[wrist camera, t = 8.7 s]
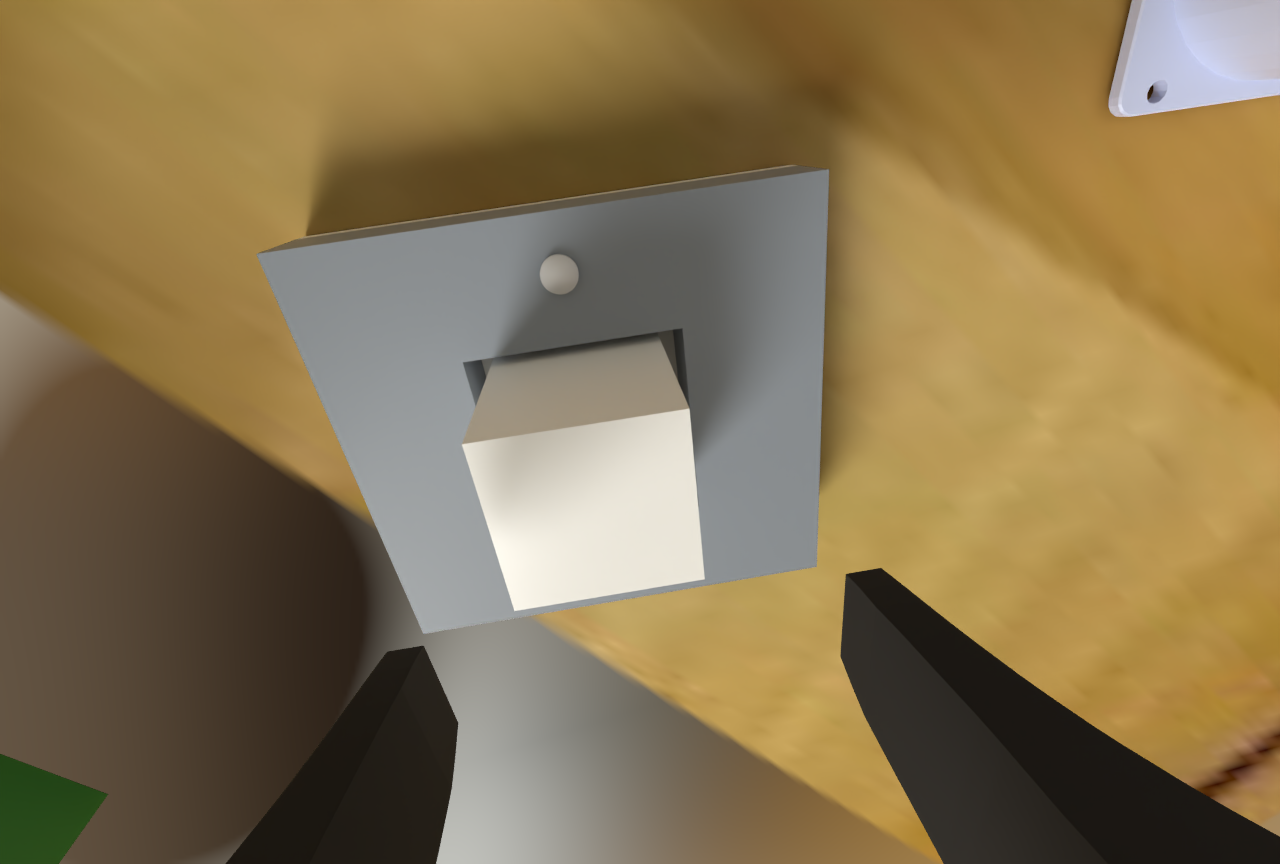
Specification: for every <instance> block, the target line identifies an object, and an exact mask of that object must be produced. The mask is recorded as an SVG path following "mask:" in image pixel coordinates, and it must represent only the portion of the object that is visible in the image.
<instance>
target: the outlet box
mask: <svg viewBox="0 0 1280 864" xmlns="http://www.w3.org/2000/svg"><path fill="white" fill-rule="evenodd" d="M828 191H829V169H823V168H815V167H807V166H799V165H786V166H779V167H773V168H766V169H759V170H752V171H745V172H739V173H732V174H725V175H718V176H711V177H705V178H698V179H691V180H684V181H677V182H671V183H664V184H657V185H650V186H644V187H637V188H630V189H623V190H616V191H610V192H603V193H596V194H589V195H582V196H576V197H569V198H562V199H555V200H548V201H542V202H535V203H528V204H521V205H515V206H508V207H501V208H494V209H487V210H481V211H474V212H467V213H460V214H453V215H447V216H440V217H433V218H426V219H420V220H413V221H406V222H399V223H392V224H386V225H379V226H372V227H365V228H358V229H352V230H345V231H338V232H331V233H324V234H318V235H311V236H304V237H302V238H299V239H296V240H293V241H291V242H288V243H285V244H282V245H280V246H277V247H274V248H271V249H269V250H266V251H263V252H260V253H258V254H257V257H258V259H259V261H260V263H261V266H262V268H263V270H264V272H265V275H266V277H267V279H268V282H269V284H270V286H271V288H272V291H273V293H274V295H275V297H276V300H277V302H278V304H279V307H280V309H281V311H282V313H283V316H284V318H285V320H286V322H287V325H288V327H289V329H290V332H291V334H292V336H293V338H294V341H295V343H296V345H297V347H298V350H299V352H300V354H301V357H302V359H303V361H304V363H305V366H306V368H307V370H308V372H309V375H310V377H311V379H312V382H313V384H314V386H315V388H316V391H317V393H318V395H319V397H320V400H321V402H322V404H323V407H324V409H325V411H326V413H327V416H328V418H329V420H330V422H331V425H332V427H333V429H334V432H335V434H336V436H337V438H338V441H339V443H340V445H341V447H342V450H343V452H344V454H345V457H346V459H347V461H348V463H349V466H350V468H351V470H352V472H353V475H354V477H355V479H356V481H357V484H358V486H359V488H360V491H361V493H362V495H363V497H364V500H365V502H366V504H367V506H368V509H369V511H370V513H371V516H372V518H373V520H374V522H375V525H376V527H377V529H378V531H379V534H380V536H381V538H382V540H383V543H384V545H385V547H386V549H387V552H388V554H389V556H390V558H391V561H392V563H393V565H394V568H395V570H396V572H397V575H398V577H399V579H400V581H401V584H402V586H403V588H404V590H405V592H406V595H407V597H408V600H409V602H410V604H411V606H412V609H413V611H414V613H415V615H416V617H417V620H418V622H419V625H420V627H421V629H422V631H423V634H426V633H431V632H437V631H443V630H449V629H455V628H460V627H467V626H472V625H478V624H484V623H490V622H496V621H502V620H508V619H513V618H519V617H525V616H531V615H537V614H543V613H549V612H554V611H560V610H566V609H572V608H578V607H584V606H590V605H595V604H601V603H607V602H613V601H619V600H625V599H631V598H636V597H642V596H648V595H654V594H660V593H666V592H672V591H677V590H683V589H689V588H695V587H701V586H707V585H712V584H718V583H724V582H730V581H736V580H742V579H748V578H753V577H759V576H765V575H771V574H777V573H783V572H789V571H794V570H800V569H806V568H812V567H817V539H818V508H819V476H820V444H821V413H822V381H823V350H824V318H825V286H826V255H827V223H828ZM655 332H657V333H658V336H659V338H660V340H661V343H662V345H663V347H664V350H665V352H666V354H667V357H668V359H669V361H670V364H671V366H672V369H673V371H674V373H675V376H676V378H677V380H678V383H679V385H680V387H681V390H682V392H683V394H684V397H685V399H686V402H687V404H688V406H689V409H690V420H691V431H692V442H693V453H694V464H695V476H696V487H697V498H698V509H699V520H700V532H701V543H702V554H703V565H704V576H705V579H704V580H698V581H692V582H686V583H680V584H674V585H668V586H662V587H656V588H650V589H644V590H638V591H632V592H626V593H620V594H614V595H608V596H602V597H596V598H590V599H584V600H578V601H572V602H566V603H560V604H554V605H548V606H542V607H536V608H530V609H524V610H518V611H514V608H513V605H512V602H511V598H510V595H509V592H508V589H507V586H506V583H505V579H504V576H503V573H502V570H501V567H500V564H499V560H498V557H497V554H496V551H495V548H494V545H493V541H492V538H491V535H490V532H489V529H488V526H487V522H486V519H485V516H484V513H483V510H482V507H481V503H480V500H479V497H478V494H477V491H476V488H475V484H474V481H473V478H472V475H471V472H470V469H469V465H468V462H467V459H466V456H465V453H464V450H463V446H462V443H463V440H464V437H465V434H466V432H467V429H468V426H469V424H470V421H471V418H472V415H473V413H474V410H475V407H476V405H477V402H478V399H479V396H480V394H481V391H482V388H483V386H484V383H485V380H486V377H487V375H488V372H489V369H490V367H491V364H492V361H493V358H495V357H501V356H508V355H514V354H520V353H527V352H533V351H540V350H546V349H552V348H559V347H565V346H572V345H578V344H585V343H591V342H597V341H604V340H610V339H617V338H623V337H630V336H636V335H642V334H649V333H655Z"/></svg>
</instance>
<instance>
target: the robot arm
mask: <svg viewBox="0 0 1280 864" xmlns="http://www.w3.org/2000/svg"><path fill="white" fill-rule="evenodd" d="M1152 85H1153V93H1152V95H1151V97H1150V98H1149V99H1148V100H1147V93H1148V91H1149V89H1150V87H1151V86H1152ZM1274 95H1280V0H1132V2H1131V7H1130V11H1129V15H1128V20H1127V24H1126V28H1125V32H1124V37H1123V41H1122V45H1121V49H1120V54H1119V58H1118V62H1117V66H1116V71H1115V75H1114V79H1113V83H1112V88H1111V92H1110V96H1109V109H1110V112H1111V113H1112V114H1113V115H1114V116H1117V117H1132V116H1139V115H1145V114H1152V113H1159V112H1166V111H1173V110H1179V109H1186V108H1193V107H1200V106H1206V105H1213V104H1220V103H1227V102H1234V101H1240V100H1247V99H1254V98H1261V97H1267V96H1274ZM841 659H842V661H843V664H844V666H845V669H846V672H847V674H848V677H849V679H850V682H851V684H852V687H853V689H854V692H855V694H856V697H857V699H858V701H859V704H860V706H861V708H862V711H863V713H864V716H865V718H866V720H867V721H868V723H869V725H870V727H871V729H872V731H873V733H874V735H875V737H876V739H877V740H878V742H879V744H880V746H881V748H882V750H883V752H884V754H885V755H886V757H887V759H888V761H889V763H890V765H891V767H892V769H893V770H894V772H895V774H896V776H897V778H898V780H899V782H900V783H901V785H902V787H903V789H904V791H905V793H906V794H907V796H908V798H909V800H910V802H911V804H912V806H913V807H914V809H915V811H916V813H917V815H918V817H919V819H920V820H921V822H922V824H923V826H924V828H925V830H926V832H927V833H928V835H929V837H930V839H931V841H932V843H933V845H934V846H935V848H936V850H937V852H938V854H939V856H940V858H941V859H942V861H943V863H944V864H1280V837H1279V836H1278V835H1276V834H1274V833H1272V832H1270V831H1268V830H1266V829H1265V828H1263V827H1261V826H1259V825H1258V824H1256V823H1254V822H1252V821H1250V820H1248V819H1247V818H1245V817H1243V816H1241V815H1239V814H1238V813H1236V812H1234V811H1232V810H1230V809H1229V808H1227V807H1225V806H1223V805H1222V804H1220V803H1218V802H1216V801H1215V800H1213V799H1211V798H1210V797H1208V796H1206V795H1204V794H1203V793H1201V792H1199V791H1197V790H1196V789H1194V788H1192V787H1191V786H1189V785H1187V784H1186V783H1184V782H1182V781H1181V780H1179V779H1177V778H1176V777H1174V776H1172V775H1171V774H1169V773H1168V772H1166V771H1164V770H1163V769H1161V768H1159V767H1158V766H1156V765H1155V764H1153V763H1151V762H1150V761H1148V760H1146V759H1145V758H1143V757H1141V756H1140V755H1138V754H1137V753H1135V752H1133V751H1132V750H1130V749H1128V748H1127V747H1125V746H1124V745H1122V744H1120V743H1119V742H1117V741H1116V740H1114V739H1113V738H1111V737H1109V736H1108V735H1106V734H1105V733H1103V732H1102V731H1100V730H1099V729H1097V728H1096V727H1094V726H1092V725H1091V724H1089V723H1088V722H1086V721H1085V720H1084V719H1082V718H1081V717H1079V716H1078V715H1076V714H1075V713H1073V712H1072V711H1070V710H1069V709H1067V708H1066V707H1065V706H1063V705H1062V704H1060V703H1059V702H1057V701H1056V700H1054V699H1053V698H1051V697H1050V696H1048V695H1047V694H1046V693H1044V692H1043V691H1041V690H1040V689H1038V688H1037V687H1036V686H1034V685H1033V684H1031V683H1030V682H1029V681H1027V680H1026V679H1024V678H1023V677H1022V676H1020V675H1019V674H1018V673H1016V672H1015V671H1013V670H1012V669H1011V668H1009V667H1008V666H1007V665H1005V664H1004V663H1003V662H1001V661H1000V660H999V659H997V658H996V657H995V656H993V655H992V654H991V653H989V652H988V651H987V650H985V649H984V648H983V647H981V646H980V645H979V644H977V643H976V642H975V641H973V640H972V639H971V638H969V637H968V636H967V635H965V634H964V633H963V632H961V631H960V630H959V629H958V628H956V627H955V626H954V625H953V624H951V623H950V622H949V621H947V620H946V619H945V618H944V617H942V616H941V615H940V614H938V613H937V612H936V611H935V610H933V609H932V608H931V607H930V606H928V605H927V604H926V603H925V602H923V601H922V600H921V599H920V598H918V597H917V596H916V595H915V594H913V593H912V592H911V591H910V590H908V589H907V588H906V587H905V586H903V585H902V584H901V583H899V582H898V581H897V580H896V579H894V578H893V577H892V576H891V575H889V574H888V573H887V572H885V571H884V570H883V569H882V568H878V569H872V570H867V571H861V572H855V573H849V574H846V581H845V596H844V612H843V627H842V642H841ZM457 730H458V721H457V719H456V717H455V715H454V713H453V710H452V708H451V706H450V704H449V701H448V699H447V697H446V695H445V693H444V690H443V688H442V686H441V683H440V681H439V679H438V677H437V674H436V672H435V670H434V668H433V665H432V663H431V661H430V659H429V657H428V654H427V652H426V650H425V648H424V646H419V647H413V648H407V649H401V650H395V651H389V652H387V653H386V654H385V655H384V657H383V658H382V659H381V661H380V662H379V663H378V665H377V666H376V667H375V669H374V670H373V671H372V673H371V674H370V676H369V677H368V678H367V680H366V681H365V682H364V684H363V685H362V686H361V688H360V689H359V691H358V692H357V693H356V695H355V696H354V697H353V699H352V700H351V702H350V703H349V704H348V706H347V707H346V708H345V710H344V711H343V713H342V714H341V715H340V717H339V718H338V720H337V721H336V722H335V724H334V725H333V726H332V728H331V729H330V730H329V732H328V733H327V734H326V736H325V737H324V739H323V740H322V741H321V743H320V744H319V745H318V747H317V748H316V749H315V751H314V752H313V753H312V755H311V756H310V757H309V759H308V760H307V761H306V763H305V764H304V765H303V767H302V768H301V769H300V771H299V772H298V773H297V774H296V776H295V777H294V778H293V780H292V781H291V783H290V784H289V785H288V787H287V788H286V789H285V790H284V792H283V793H282V794H281V795H280V797H279V798H278V799H277V801H276V802H275V803H274V804H273V806H272V807H271V808H270V809H269V811H268V812H267V813H266V814H265V816H264V817H263V818H262V819H261V821H260V822H259V823H258V824H257V826H256V827H255V828H254V829H253V831H252V832H251V833H250V834H249V835H248V837H247V838H246V839H245V840H244V842H243V843H242V844H241V845H240V847H239V848H238V849H237V850H236V852H235V853H234V854H233V855H232V857H231V858H230V859H229V860H228V862H227V863H226V864H436V861H437V857H438V852H439V847H440V843H441V838H442V833H443V828H444V823H445V819H446V814H447V809H448V804H449V799H450V794H451V789H452V781H453V772H454V763H455V753H456V742H457Z"/></svg>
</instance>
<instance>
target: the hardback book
mask: <svg viewBox="0 0 1280 864" xmlns="http://www.w3.org/2000/svg"><path fill="white" fill-rule="evenodd" d="M107 795H108V794H106V793H103V792H101V791H98V790H95V789H93V788H90V787H87V786H84V785H82V784H79V783H76V782H74V781H71V780H69V779H66V778H63V777H61V776H58V775H55V774H53V773H50V772H47V771H44V770H42V769H39V768H36V767H34V766H31V765H28V764H26V763H23V762H20V761H18V760H15V759H13V758H10V757H7V756H4V755H2V754H0V864H59V863H60V861H61V860H62V859H63V857H64V856H65V854H66V853H67V851H68V850H69V849H70V847H71V846H72V844H73V843H74V841H75V840H76V839H77V837H78V836H79V835H80V833H81V832H82V830H83V829H84V828H85V826H86V825H87V823H88V822H89V821H90V819H91V818H92V816H93V815H94V813H95V812H96V810H97V809H98V808H99V806H100V805H101V804H102V802H103V801H104V799H105V798H106V797H107Z"/></svg>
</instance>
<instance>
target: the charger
mask: <svg viewBox="0 0 1280 864" xmlns="http://www.w3.org/2000/svg"><path fill="white" fill-rule="evenodd" d="M462 446H463V450H464V453H465V456H466V459H467V462H468V465H469V469H470V472H471V475H472V478H473V481H474V484H475V488H476V491H477V494H478V497H479V500H480V503H481V507H482V510H483V513H484V516H485V519H486V522H487V526H488V529H489V532H490V535H491V538H492V541H493V545H494V548H495V551H496V554H497V557H498V560H499V564H500V567H501V570H502V573H503V576H504V579H505V583H506V586H507V589H508V592H509V595H510V598H511V602H512V605H513V608H514V611H518V610H524V609H530V608H536V607H542V606H548V605H554V604H560V603H566V602H572V601H578V600H584V599H590V598H596V597H602V596H608V595H614V594H620V593H626V592H632V591H638V590H644V589H650V588H656V587H662V586H668V585H674V584H680V583H686V582H692V581H698V580H704V579H705V576H704V565H703V554H702V543H701V532H700V520H699V509H698V498H697V487H696V476H695V464H694V453H693V442H692V431H691V420H690V409H689V406H688V404H687V402H686V399H685V397H684V394H683V392H682V390H681V387H680V385H679V383H678V380H677V378H676V376H675V373H674V371H673V369H672V366H671V364H670V361H669V359H668V357H667V354H666V352H665V350H664V347H663V345H662V343H661V340H660V338H659V336H658V333H657V332H655V333H649V334H642V335H636V336H630V337H623V338H617V339H610V340H604V341H597V342H591V343H585V344H578V345H572V346H565V347H559V348H552V349H546V350H540V351H533V352H527V353H520V354H514V355H508V356H501V357H495V358H493V361H492V364H491V367H490V369H489V372H488V375H487V377H486V380H485V383H484V386H483V388H482V391H481V394H480V396H479V399H478V402H477V405H476V407H475V410H474V413H473V415H472V418H471V421H470V424H469V426H468V429H467V432H466V434H465V437H464V440H463V443H462Z"/></svg>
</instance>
